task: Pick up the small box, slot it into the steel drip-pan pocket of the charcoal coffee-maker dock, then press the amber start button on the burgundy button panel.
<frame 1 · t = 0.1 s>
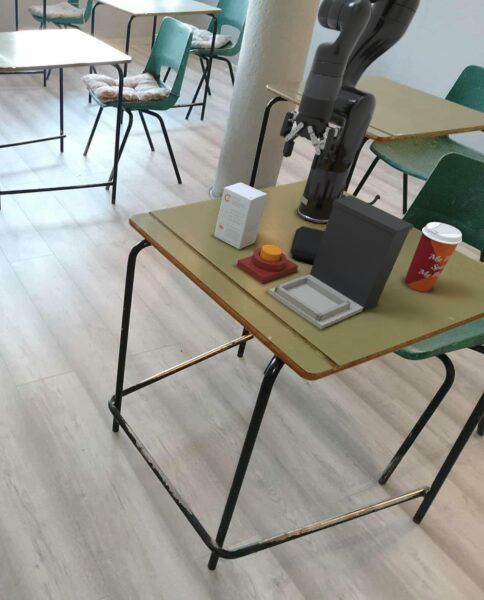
hand: (300, 162, 137), 17 cm above the table, tool pointing down, fingers open, 8 cm apart
start button: (270, 253, 126), point 4 cm above the table, slide at 0.1 cm
coffee dock: (321, 298, 120), on the table
paper cup: (417, 285, 128), on the table
button panel: (266, 269, 129), on the table
small box: (233, 240, 139), on the table
carrying case: (313, 252, 137), on the table
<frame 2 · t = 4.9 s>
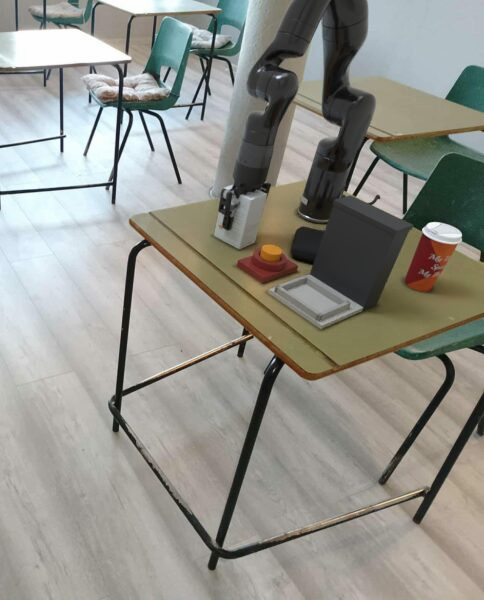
hand: (237, 225, 137), 4 cm above the table, tool pointing down, fingers closed on small box, 6 cm apart
small box: (233, 240, 139), on the table, touching gripper
everything else where it was.
when the fingers open (5 cm above the table, at t = 14.4 s): small box stays where it is, resting on coffee dock.
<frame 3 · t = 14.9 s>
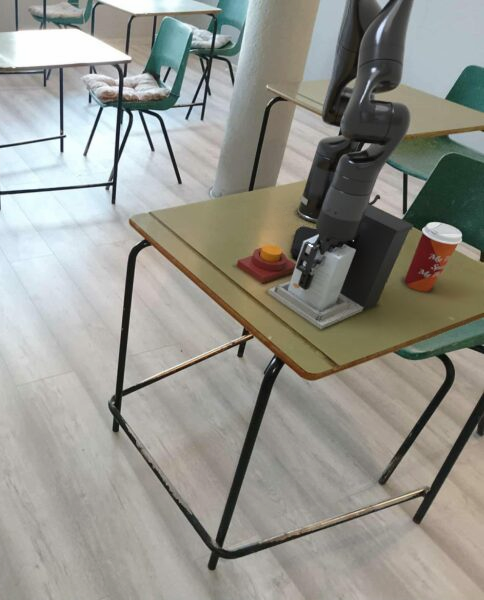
hand: (317, 282, 115), 5 cm above the table, tool pointing down, fingers open, 8 cm apart
small box: (310, 300, 118), point 1 cm above the table, touching coffee dock
everything else where it was.
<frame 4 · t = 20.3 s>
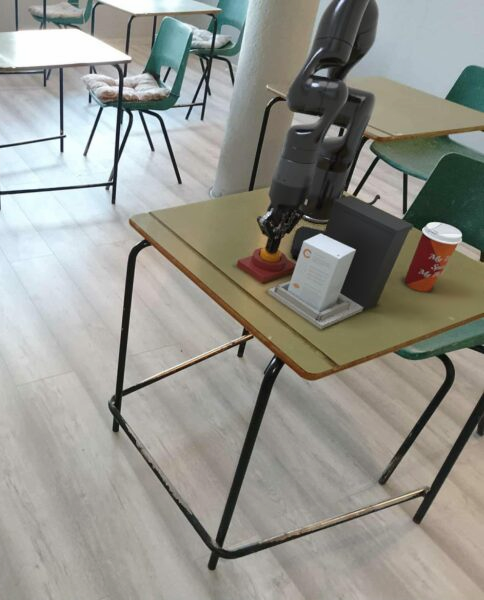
hand: (270, 251, 126), 5 cm above the table, tool pointing down, fingers closed
start button: (270, 255, 126), point 4 cm above the table, slide at -0.4 cm, touching gripper
everything else where it was.
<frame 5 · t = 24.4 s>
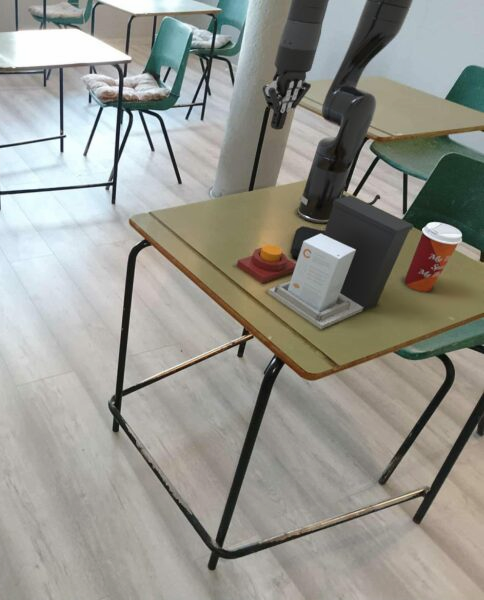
hand: (276, 128, 126), 27 cm above the table, tool pointing down, fingers closed
start button: (270, 253, 126), point 4 cm above the table, slide at 0.1 cm
everything else where it was.
at the end: small box 0.1 cm from the target spot on the coffee dock, point 0.8 cm above the coffee dock's base; small box tilted 0°; start button pushed in 1.1 cm at the most during the clip, back to where it started at the end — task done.
